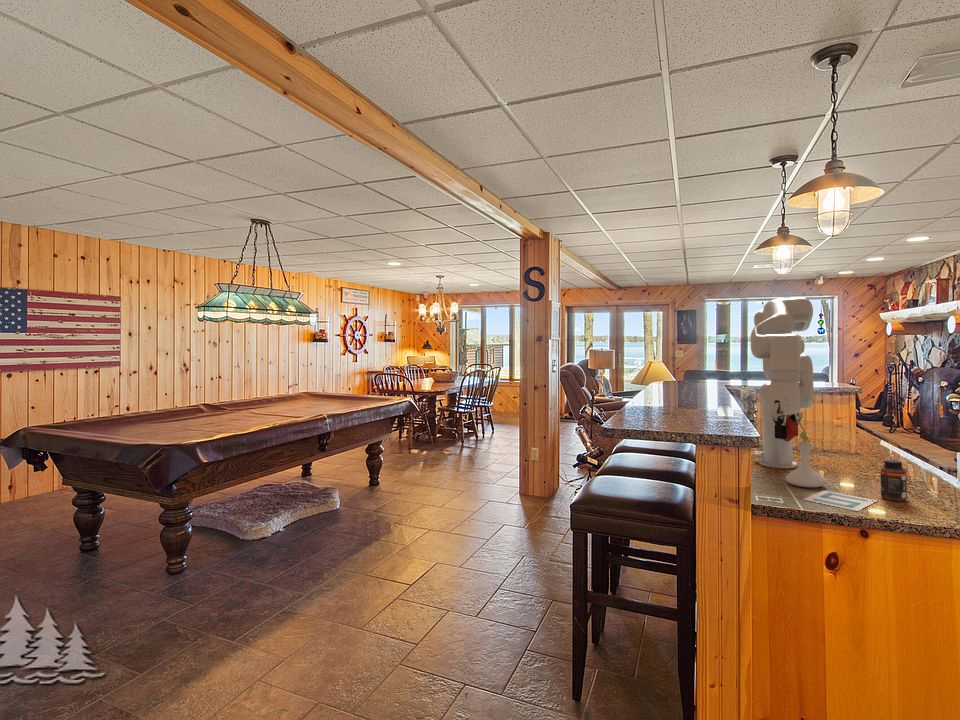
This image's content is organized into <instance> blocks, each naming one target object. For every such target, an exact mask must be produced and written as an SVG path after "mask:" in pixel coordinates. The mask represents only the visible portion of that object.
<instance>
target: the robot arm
mask: <svg viewBox="0 0 960 720" xmlns="http://www.w3.org/2000/svg"><path fill="white" fill-rule="evenodd" d="M813 316H814V307H813V304H812V302H811V300H809V298H806V297H802V296H801V297H786V298H785V297H784V298H775V299H772V300H770V301H768V302H767V303H765V304H764V306H763V310H760V311H758V312H756V313H755V314H754V316H753V324H754V327H753V328H752V331H751V333H750V351H751V354H752V356H753V357H754V358H756V359H760V360H762V369H763V370H762V371H763V375H764V376H765V377H766V378H767V379H769V380H770V382H766V383H765V384H762V385H761V386H760V388H759V392H758V394H759V400H760V405H761V416H762V443H763V444H762V445H763V446H762V449H763V450H762V451H758V450H757V451H756V450H753V451H754V452H753V457H755V458H760V459H759V461H758V464H759V465H761V466H764V467H767V468H773V469H795V468H798V462H796V461H794V460H793V439H791V440H790V441H789V442H786V441H784V440H783V439H787V426H785V424H786V417H787V416H788V417H789V418H790V419H792V420H793V421H794V422H795V423H796V424H797V426H798V427H799V424H798V416H799V412H801V409H808V408H810V407H812V406H813V403H814V398H815V397H814V395H815V393H814V366H813V361H812V358H811V356H809V355H807V353H806V354H805V353H804V352H805V346H806V345H805V340H804V339H803V338H802V337H801V336H800V335H799V334H797V333H795V332H798V333H799V332H804V331H807V330H808V329H809V328H810V325H811V322H812V320H813ZM793 332H794V333H793ZM798 436H799V433H798V434H797V435H796V436H795V437H798Z"/></svg>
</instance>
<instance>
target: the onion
mask: <svg viewBox="0 0 960 720" xmlns="http://www.w3.org/2000/svg"><path fill="white" fill-rule="evenodd" d="M785 426H787V439H783V440H784V441H786V442H789V441H790V440H791V439H792V440H793V439H794V438H795V437H797V436H796V435H797V434H798V435H799V425H798V426H797V424H796V423H795V422H794V421H793V420H792V419H790V418H789V417H788V416H787V417H786V424H785Z"/></svg>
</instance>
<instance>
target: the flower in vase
mask: <svg viewBox="0 0 960 720" xmlns="http://www.w3.org/2000/svg"><path fill="white" fill-rule="evenodd" d="M803 418H804V411H803V410H800V412H799V416H798V425H799V426H800V428H801V429H802V431H801V433H799V437H800V438H801V439H802V441H801V442H796V443H795V445H796V446H797V447H798V450H799V453H800V465H799V466H797V467H796V469H794V470H793V471H791V472H789V473H788V474H787V475H786V476H785V477H784V480H785V481H786V482H788V483H789V484H791V485H793V486H796V487H801V488H802V487H803V488H819V487H820V488H821V487H824V486H826V485H827V484H828V483H827V480H826V478H825V477H824V476H823V475H821V474H820V473H818V472H817V471H816V470H815V469H814V468H813V467H812V466H811V464H810V455H811V454H810V452H811V450H812V448H813V447H814V446H815V444H814V443H812V442H807V440H809V437H808V436H807V433H806V431H805V429H804V427H803V425H802V423H801V421H802V419H803Z"/></svg>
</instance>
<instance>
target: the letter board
mask: <svg viewBox="0 0 960 720" xmlns="http://www.w3.org/2000/svg"><path fill="white" fill-rule="evenodd" d="M805 500H806V501H807V502H810V501H812V502H811V503H815V502H816V504H819V503H821V504H820V505H824V504H825V505H824V506H829V505H830V506H831V507H834V506H835V508H838V507H839V509H844V510H849V511H852V512H853V511H854V512H857V511H858V512H860V511H862V510H864V509H866V508H868V507H870V506H872V505H874V504H875V503H874V502H876V503H878V502H877V501H878V500H875V499H871V498H865V497H861V496H855V495H849V494H845V493H844V494H843V493H840V492H839V493H838V492H833V491H829V490H821V491H819V492H817V493H814V494H812V495H810V496H808V497H805V498H802V501H805ZM872 500H873V501H874V502H872ZM806 501H805V502H806ZM867 501H868V502H867ZM870 501H871V502H870ZM873 503H874V504H873ZM871 504H872V505H871ZM869 505H870V506H869ZM867 506H868V507H867ZM865 507H866V508H865ZM863 508H864V509H863Z"/></svg>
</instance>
